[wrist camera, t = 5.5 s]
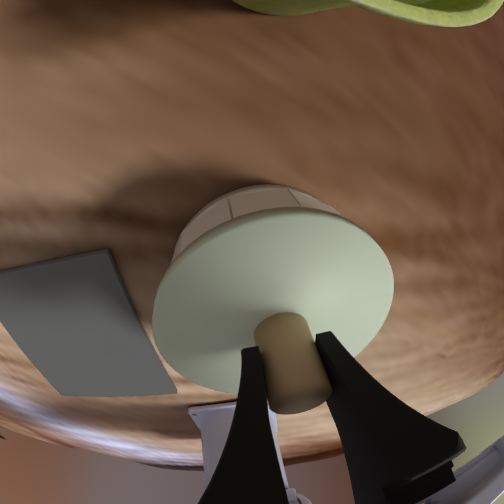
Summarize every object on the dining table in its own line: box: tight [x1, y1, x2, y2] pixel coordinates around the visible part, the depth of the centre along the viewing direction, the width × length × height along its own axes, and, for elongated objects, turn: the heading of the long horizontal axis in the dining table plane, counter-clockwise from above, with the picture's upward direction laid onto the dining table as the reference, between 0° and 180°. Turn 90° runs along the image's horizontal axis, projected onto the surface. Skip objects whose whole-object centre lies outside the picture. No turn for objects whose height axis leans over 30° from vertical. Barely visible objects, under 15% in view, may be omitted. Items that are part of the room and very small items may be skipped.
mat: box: [0, 248, 177, 397], centre depth 18 cm, size 14×12×1 cm
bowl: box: [170, 184, 341, 264], centre depth 15 cm, size 10×10×4 cm
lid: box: [152, 207, 394, 414], centre depth 11 cm, size 11×11×4 cm
